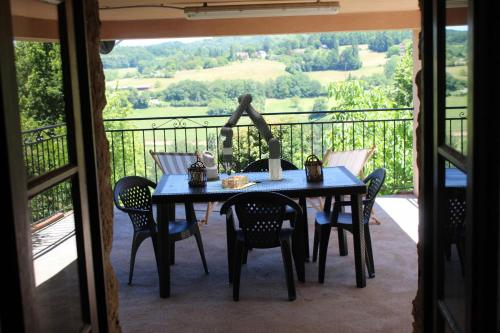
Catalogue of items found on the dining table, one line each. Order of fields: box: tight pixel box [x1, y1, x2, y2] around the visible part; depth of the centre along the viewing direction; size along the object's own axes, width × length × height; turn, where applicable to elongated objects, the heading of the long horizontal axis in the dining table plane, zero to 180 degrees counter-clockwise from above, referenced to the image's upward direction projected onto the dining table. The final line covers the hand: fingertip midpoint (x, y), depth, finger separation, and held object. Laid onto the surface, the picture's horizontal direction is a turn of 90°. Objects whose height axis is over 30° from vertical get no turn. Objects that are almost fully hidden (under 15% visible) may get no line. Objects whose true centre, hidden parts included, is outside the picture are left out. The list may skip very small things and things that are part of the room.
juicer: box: [189, 150, 222, 183], centre depth 567 cm, size 30×16×24 cm, turn 48°
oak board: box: [223, 182, 257, 190], centre depth 530 cm, size 14×26×1 cm, turn 151°
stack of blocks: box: [221, 174, 249, 188], centre depth 531 cm, size 21×6×12 cm
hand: (229, 175), depth 534 cm, fingers closed
